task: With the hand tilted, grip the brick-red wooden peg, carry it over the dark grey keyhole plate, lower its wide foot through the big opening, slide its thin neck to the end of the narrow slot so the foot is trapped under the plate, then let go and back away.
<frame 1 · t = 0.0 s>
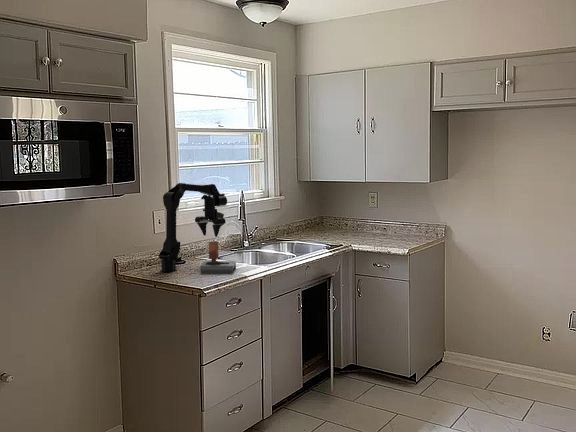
hand: (210, 236, 326), 14 cm above the worktop, tool pointing down, fingers open, 9 cm apart
peg: (213, 266, 316), on the worktop
keyhole plate: (218, 270, 306), on the worktop
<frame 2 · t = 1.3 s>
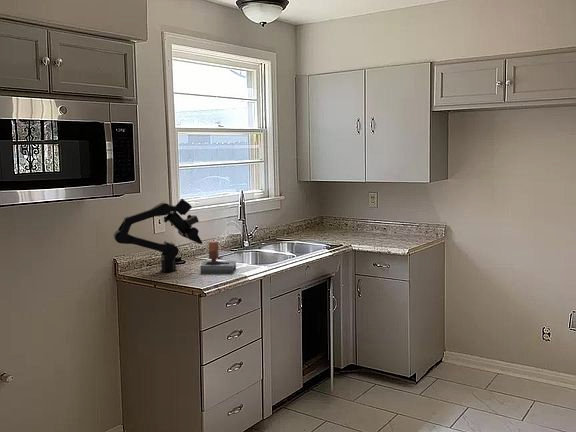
hand: (199, 242, 312), 13 cm above the worktop, tool tilted 45°, fingers open, 9 cm apart
nothing on the worktop moved.
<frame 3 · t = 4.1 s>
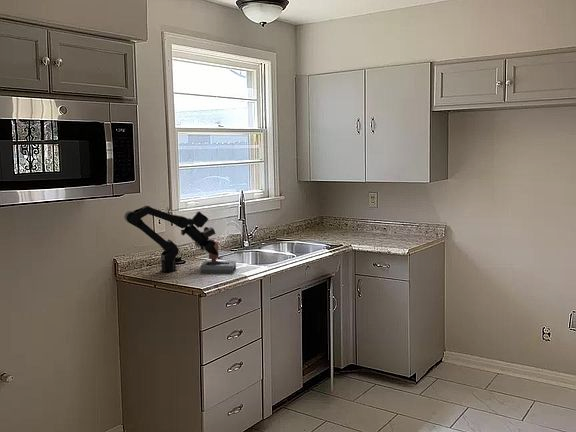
hand: (216, 253, 316), 7 cm above the worktop, tool tilted 45°, fingers closed on peg, 5 cm apart
peg: (213, 266, 316), on the worktop, touching gripper
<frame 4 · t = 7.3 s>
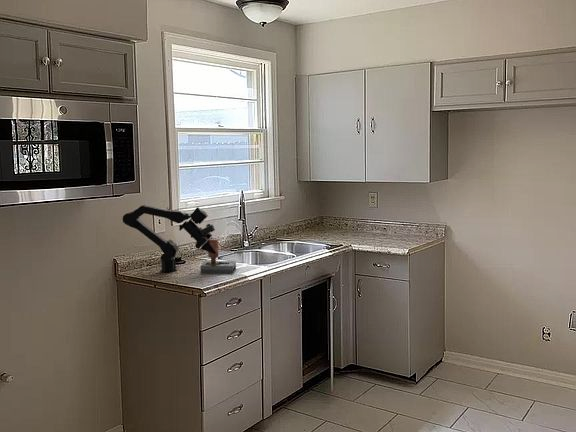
hand: (216, 252, 305), 9 cm above the worktop, tool tilted 45°, fingers closed on peg, 5 cm apart
peg: (213, 265, 305), point 3 cm above the worktop, touching gripper
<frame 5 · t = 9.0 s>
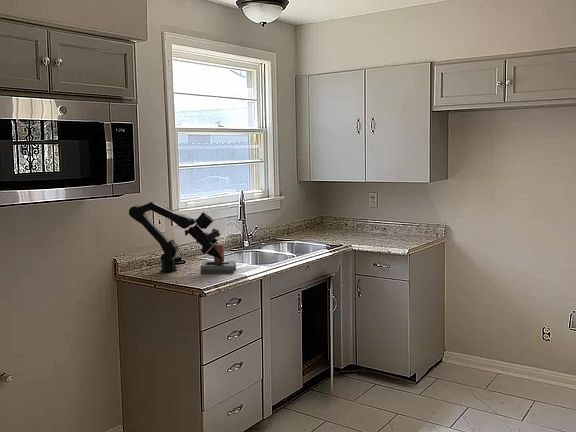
hand: (221, 257, 305), 7 cm above the worktop, tool tilted 45°, fingers closed on peg, 5 cm apart
peg: (219, 270, 306), on the worktop, touching gripper
when the fingers open (7 cm above the worktop, at t = 10.3 s): peg stays where it is, on the worktop.
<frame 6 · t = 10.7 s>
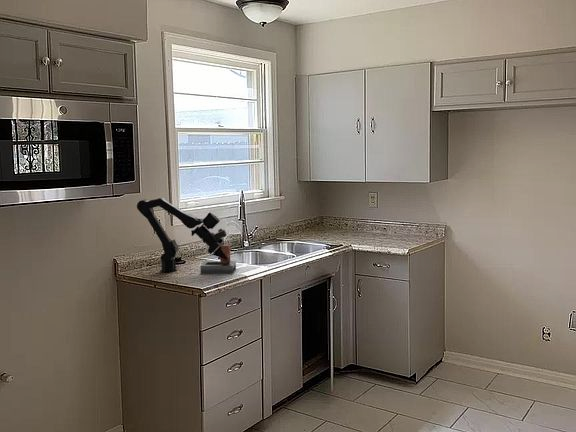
hand: (228, 257, 305), 7 cm above the worktop, tool tilted 45°, fingers open, 9 cm apart
peg: (225, 270, 306), on the worktop
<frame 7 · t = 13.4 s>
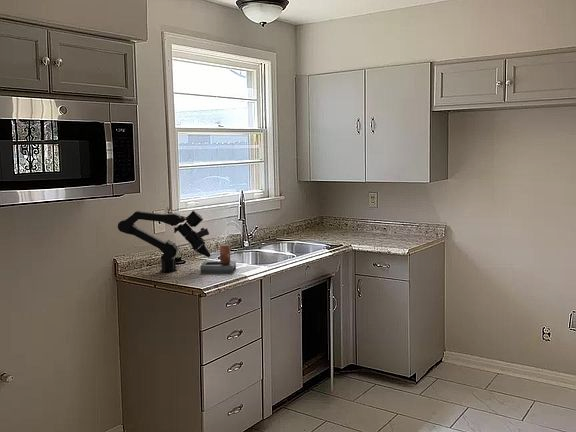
hand: (209, 256, 306), 7 cm above the worktop, tool tilted 40°, fingers open, 9 cm apart
nothing on the worktop moved.
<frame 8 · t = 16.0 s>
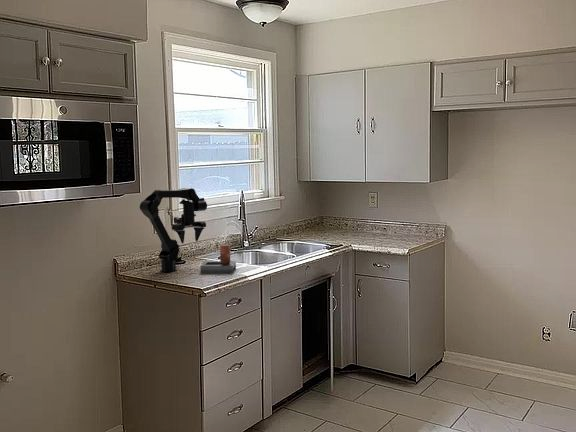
hand: (189, 242, 315), 13 cm above the worktop, tool pointing down, fingers open, 9 cm apart
nothing on the worktop moved.
at the end: peg 0.0 cm from the target spot on the keyhole plate, point 0.0 cm above the keyhole plate's base; peg tilted 0°; the gripper is holding nothing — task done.
